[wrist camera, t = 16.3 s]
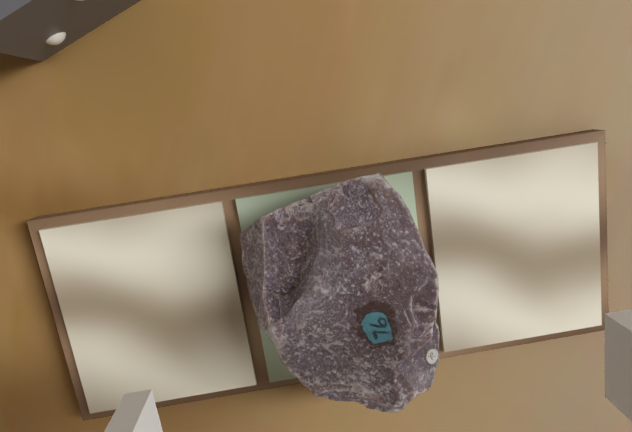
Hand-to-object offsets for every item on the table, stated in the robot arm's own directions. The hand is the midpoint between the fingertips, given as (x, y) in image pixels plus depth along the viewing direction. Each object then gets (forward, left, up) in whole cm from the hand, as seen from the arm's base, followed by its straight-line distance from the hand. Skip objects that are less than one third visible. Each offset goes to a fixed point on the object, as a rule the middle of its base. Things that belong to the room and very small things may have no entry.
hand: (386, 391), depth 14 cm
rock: (0, 0, -11) cm, 11 cm away
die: (-16, -11, -13) cm, 23 cm away
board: (+1, 0, -12) cm, 12 cm away
